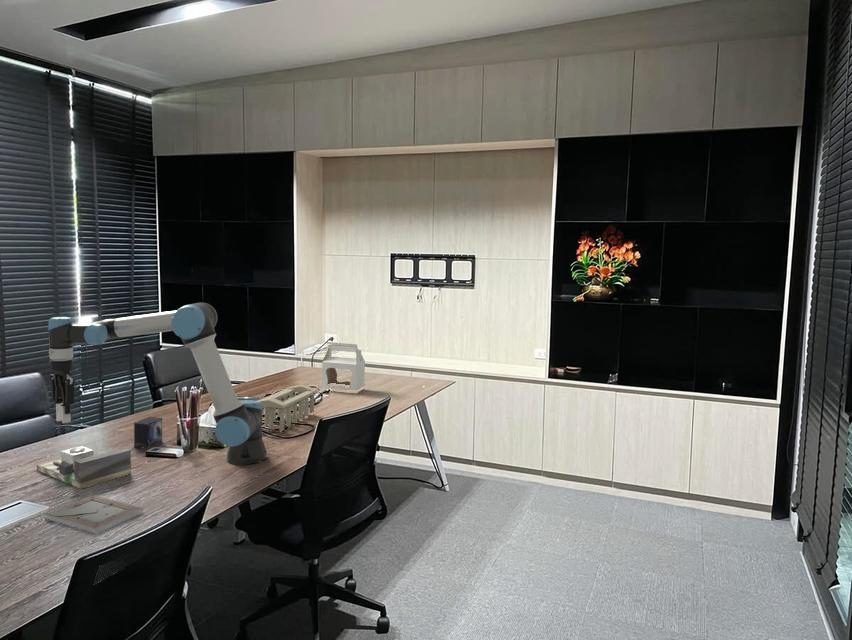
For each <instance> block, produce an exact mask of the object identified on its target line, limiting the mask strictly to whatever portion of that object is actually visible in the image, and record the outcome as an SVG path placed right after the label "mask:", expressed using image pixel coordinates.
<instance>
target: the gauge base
mask: <svg viewBox="0 0 852 640" xmlns="http://www.w3.org/2000/svg"><path fill="white" fill-rule="evenodd" d="M131 456H132V455H131V449H128V448H125V447H122V448H118V449H115V450H111V451H107V452H104V453H100V454H96V455H94V456H91V457H87V458H83V459H79V460H75V461H74V468H73V467H72V474H68V475H63V474H61V473H59V470H57V468H58V467H59V464H63V463H61V458H58V459H54V460H53V459H52V460H49V461H46V462H42V463H38V464H36V471H39V472H41V473H43V474H45V475H46V476H49V477H52V478H54V479H57V480H59V481H61V482H64V483H65V484H68V485H70V486H73V487H75V486H76V488H78V489H80V488H81V489H80V490H82V488H83V489H85V487H86V488H89V487H88V486H90V487H93V486H96V485H99V484H98V483H100V484H103V483H105V481H107V482H110V481H113V480H116V479H115V478H117V479H119V478H118V477H120V478H122V477H121V476H123V477H126V476H125V475H127V474H130V475H132V461H131V460H132V458H131ZM127 476H128V475H127ZM112 479H113V480H112ZM109 480H110V481H109ZM102 482H103V483H102ZM95 484H96V485H95ZM92 485H93V486H92Z"/></svg>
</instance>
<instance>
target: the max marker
mask: <svg viewBox="0 0 852 640" xmlns="http://www.w3.org/2000/svg"><path fill="white" fill-rule="evenodd" d="M59 473H61V474H63V475H68V474H72V465H71V464H68V463H63V464H59Z"/></svg>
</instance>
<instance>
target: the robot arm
mask: <svg viewBox="0 0 852 640" xmlns="http://www.w3.org/2000/svg"><path fill="white" fill-rule="evenodd" d="M217 322H218V313H217V311H216V309H215V308H214V307H213V306H212V305H211V304H209V303H207V302H196V303H191V304H190V303H189V304H186V305H183V306H181V307H180V308H178V309H177V310H176V309H175V310H171V311H162V312H161V311H160V312H156V313H155V312H154V313H153V312H152V313H148V314H139V315H132V316H131V315H130V316H126V317H125V316H124V317H118V318H106V319H102V320H99V321H92V322H88V323H87V322H86V323H75V322H73V320H72V317H70V316H68V317H67V316H55V317H51V318H49V319H48V329H47V331H48V343H49V347H48V348H49V351H48V355H49V359H50V360H49V370H50V371H52V372H53V374H49V379H50V389H51V391H50V392H51V401H53V402H54V404H55V414H56V415H55V416H56V419H55V420H56V422H61V423H62V424H66V423H67V424H68V423H71V422H72V421H71V420H72V417H71V405H74V403H75V382H76V379H75V377H74V378H72V377H71V372H70V371H72V370H73V369H74V359H73V358H74V344H77V345H78V344H79V345H92V346H95V345H103V344H104V343H105V342H106V341H107V340H112V339H119V338H125V337H126V338H127V337H133V336H135V337H136V336H141V335H151V334H157V333H158V334H159V333H166V332H173V333H174V334H175V335H176V336H177V337H179V338H180V339H181V340H182V343H183V345H184V347H186V348H189V349H190V351H191V352H192V356H193V358H194V360H195V362H196V365H197V368H198V370H199V373H200V375H201V378H202V380H203V382H204V386H205V387H206V389H207V393H208V394H209V397H210V400H211V402H212V405H213V407H214V412H213V414H212V416H213V419H214V421H215V424H216V425H215V428H214V432H215V433H214V434H215V437H216V439H217V440H218V441H219V442H220V443H221V444H222V445H224V446H227V447H228V451H227V453H226V461H227V462H228V463H231V464H234V465H241V464H246V465H251V464H250V463H255V464H257V463H256V462H259V461H262V460H264V459H265V458H266V457H267V456H268V455H267V449H266V447H265V444H264V439H263V429H262V428H263V411H264V410H263V407H262V404H261V402H258V400H239V399H238V397H237V394H236V392H235V389H234V387H233V385H232V381H231V379H230V377H229V374H228V371H227V369H226V367H225V364H224V362H223V359H222V357H221V355H220V351H219V350H218V347H217V344H216V342H215V338H216V337H217V332H216V330H215V327H216V325H217ZM266 459H267V458H266ZM266 459H265V460H266ZM265 460H264V461H265ZM262 462H263V461H262ZM259 463H260V462H259Z"/></svg>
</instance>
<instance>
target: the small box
mask: <svg viewBox="0 0 852 640" xmlns="http://www.w3.org/2000/svg"><path fill="white" fill-rule="evenodd" d="M133 424H134V425H133V426H134V427H133V430H134V431H133V433H134V434H133V437H134V438H133V440H134V441H133V444H134V445H133V447H134V448H138V447H144V448H143V449H148V448H147V447H149V448H151V447H153V446H152V445H154V444H156V443H158V444H159V442H160V443H162V442H163V417H157V416H148V417H145V418H142V419H140V420H138V421H135V422H133ZM161 441H162V442H161ZM156 445H157V444H156ZM150 446H151V447H150ZM154 446H155V445H154Z"/></svg>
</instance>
